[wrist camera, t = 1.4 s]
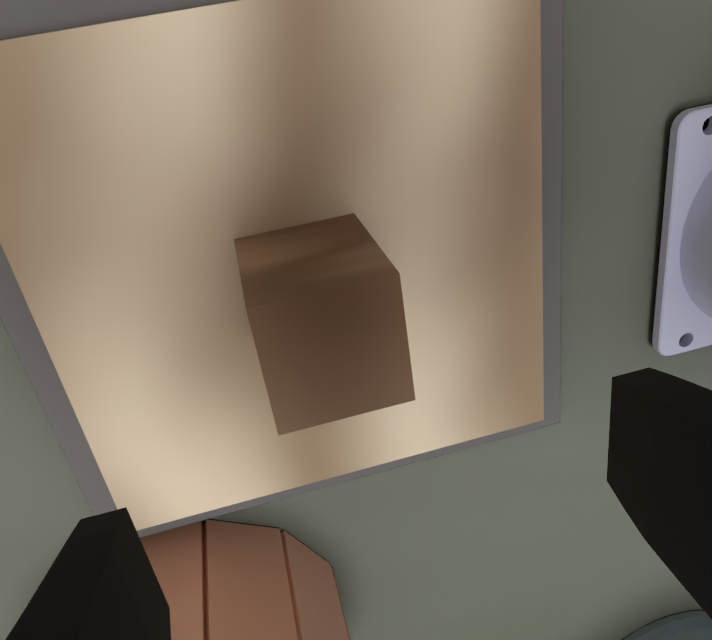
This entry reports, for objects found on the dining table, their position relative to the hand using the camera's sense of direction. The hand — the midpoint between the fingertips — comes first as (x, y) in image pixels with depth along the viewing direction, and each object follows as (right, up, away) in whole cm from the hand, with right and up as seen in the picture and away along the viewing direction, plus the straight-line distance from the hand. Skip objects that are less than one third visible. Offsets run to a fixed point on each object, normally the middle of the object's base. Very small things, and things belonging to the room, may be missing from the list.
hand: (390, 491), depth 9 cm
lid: (-2, +4, +8) cm, 9 cm away
